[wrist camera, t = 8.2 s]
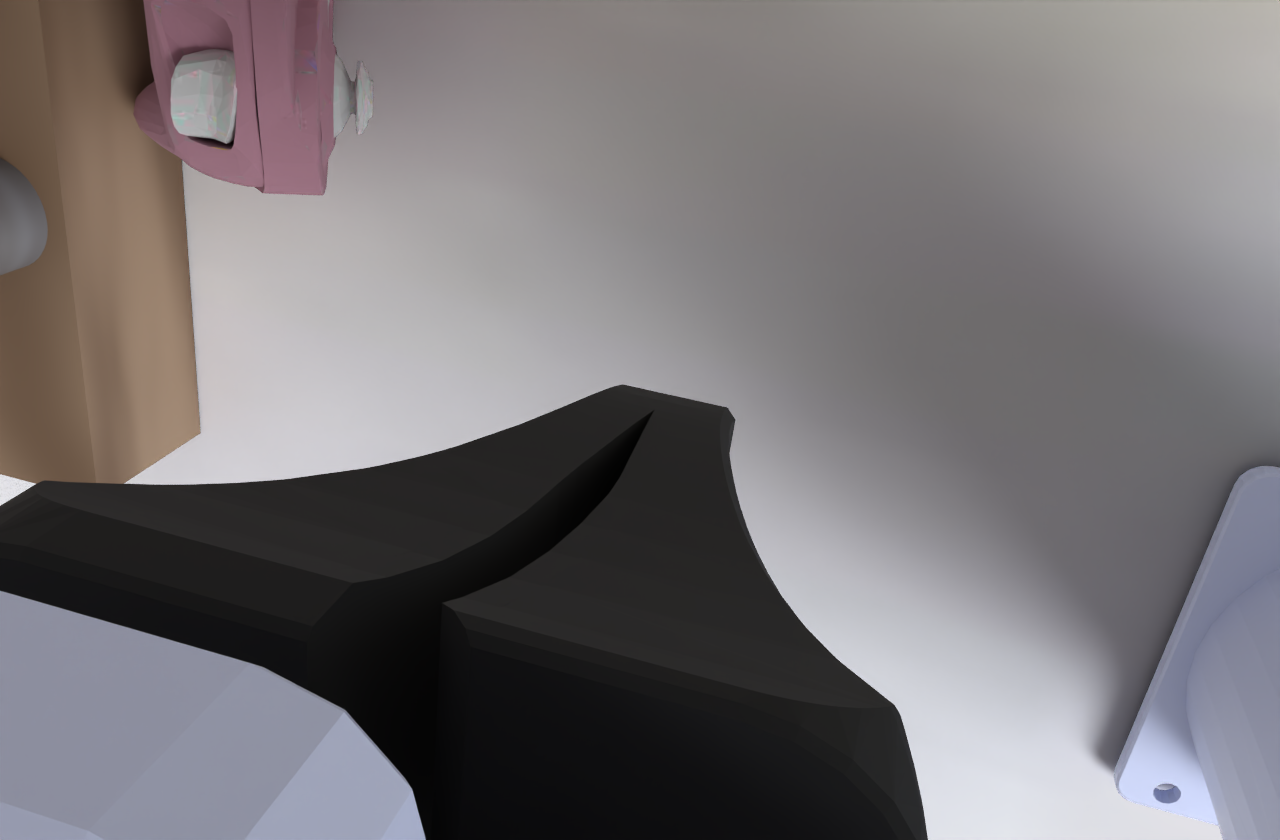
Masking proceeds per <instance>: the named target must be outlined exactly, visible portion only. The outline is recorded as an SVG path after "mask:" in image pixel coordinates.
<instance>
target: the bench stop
mask: <svg viewBox="0 0 1280 840" xmlns="http://www.w3.org/2000/svg"><path fill="white" fill-rule="evenodd" d="M153 82H154V76H153V72H152V67H151V60H150V51H149V43H148V35H147V26H146V18H145V10H144V2H143V0H0V474H2V475H6V476H10V477H13V478H17V479H21V480H25V481H28V482H32V483H36V484H37V483H39V482H41V481H44V480H47V481H62V482H84V483H115V484H124V483H125V482H127V481H128V480H130V479H131V478H133V477H134V476H136V475H137V474H139V473H140V472H142V471H143V470H145V469H146V468H148V467H150V466H151V465H153V464H154V463H156V462H157V461H159V460H160V459H162V458H163V457H165V456H166V455H168V454H169V453H171V452H172V451H174V450H175V449H177V448H178V447H180V446H181V445H183V444H185V443H186V442H188V441H189V440H191V439H192V438H194V437H195V436H197V435H198V434H200V420H199V406H198V391H197V377H196V362H195V348H194V334H193V319H192V305H191V290H190V276H189V261H188V247H187V233H186V218H185V204H184V189H183V175H182V161H181V159H180V158H179V157H178V156H176V155H175V154H173V153H171V152H170V151H168V150H166V149H165V148H163V147H162V146H160V145H159V144H158V143H156V142H155V141H154V140H153V139H151V138H150V137H149V136H148V135H146V134H145V133H144V132H143V131H142V130H141V129H140V128H139V126H138V123H137V121H136V119H135V117H134V115H133V112H134V106H135V100H136V98H137V96H138V95H139V94H140V93H141V92H142V91H143V90H144V89H145V88H146V87H147V86H148V85H150V84H151V83H153Z"/></svg>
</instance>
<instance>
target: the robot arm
mask: <svg viewBox="0 0 1280 840" xmlns="http://www.w3.org/2000/svg"><path fill="white" fill-rule="evenodd" d="M734 424H735V419H734V417H733V415H732V414H731V412H730V411H729V409H728V408H726V407H722V406H717V405H713V404H708V403H704V402H699V401H695V400H690V399H686V398H681V397H677V396H672V395H668V394H663V393H658V392H654V391H649V390H645V389H640V388H636V387H631V386H627V385H619V386H615V387H611V388H608V389H606V390H603V391H600V392H598V393H595V394H593V395H590V396H588V397H586V398H583V399H581V400H578V401H576V402H574V403H571V404H569V405H567V406H564V407H562V408H559V409H557V410H554V411H552V412H550V413H547V414H545V415H542V416H540V417H537V418H535V419H532V420H530V421H527V422H525V423H522V424H520V425H517V426H514V427H511V428H508V429H506V430H503V431H500V432H497V433H494V434H491V435H488V436H485V437H482V438H480V439H477V440H474V441H471V442H468V443H465V444H462V445H459V446H456V447H453V448H449V449H446V450H443V451H439V452H435V453H432V454H428V455H424V456H420V457H416V458H412V459H407V460H403V461H398V462H394V463H389V464H385V465H380V466H375V467H370V468H364V469H357V470H350V471H343V472H336V473H329V474H321V475H314V476H307V477H300V478H293V479H284V480H273V481H259V482H244V483H225V484H197V485H145V484H115V483H84V482H62V481H47V480H44V481H41V482H39V483H37V484H36V485H34V486H32V487H31V488H29V489H27V490H26V491H24V492H22V493H21V494H19V495H18V496H16V497H14V498H13V499H11V500H9V501H8V502H6V503H4V504H3V505H1V506H0V840H928V838H927V831H926V824H925V817H924V810H923V805H922V800H921V795H920V790H919V786H918V781H917V776H916V771H915V767H914V763H913V759H912V756H911V752H910V748H909V744H908V740H907V737H906V733H905V729H904V726H903V723H902V719H901V716H900V714H899V712H898V710H897V708H896V707H895V705H894V704H892V703H891V702H890V701H889V700H887V699H886V698H885V697H884V696H882V695H881V694H880V693H879V692H877V691H876V690H875V689H874V688H872V687H871V686H870V685H868V684H867V683H866V682H865V681H863V680H862V679H861V678H860V677H858V676H857V675H856V674H855V673H853V672H852V671H851V670H850V669H848V668H847V667H846V666H845V665H843V664H842V663H841V662H840V661H839V660H837V659H836V658H835V657H834V656H833V655H832V654H831V653H830V652H829V651H828V650H827V649H826V648H825V647H824V646H823V645H822V644H821V643H820V642H819V641H818V639H817V638H816V637H815V636H814V635H813V634H812V633H811V632H810V631H809V630H808V629H807V628H806V627H805V626H804V625H803V623H802V622H801V621H800V620H799V619H798V617H797V616H796V615H795V613H794V612H793V611H792V609H791V608H790V607H789V605H788V604H787V603H786V601H785V600H784V599H783V597H782V596H781V594H780V593H779V591H778V589H777V588H776V586H775V584H774V583H773V581H772V579H771V578H770V576H769V574H768V572H767V570H766V568H765V566H764V564H763V562H762V560H761V559H760V557H759V555H758V553H757V550H756V548H755V546H754V543H753V541H752V539H751V536H750V534H749V531H748V529H747V526H746V523H745V520H744V517H743V514H742V511H741V508H740V505H739V501H738V497H737V494H736V489H735V484H734V479H733V474H732V469H731V463H730V455H729V452H730V447H731V441H732V435H733V430H734ZM1114 780H1115V785H1116V788H1117V790H1118V793H1119V794H1120V795H1121V796H1122V797H1124V798H1125V799H1126V800H1129V801H1131V802H1133V803H1137V804H1140V805H1144V806H1148V807H1151V808H1155V809H1159V810H1163V811H1166V812H1170V813H1174V814H1177V815H1181V816H1185V817H1188V818H1192V819H1196V820H1199V821H1203V822H1207V823H1211V824H1214V825H1218V826H1219V828H1220V831H1221V834H1222V838H1223V840H1280V468H1279V467H1274V466H1259V467H1256V468H1252V469H1249V470H1248V471H1246V472H1245V473H1243V474H1242V475H1240V477H1239V478H1238V480H1237V481H1236V482H1235V484H1234V486H1233V489H1232V491H1231V493H1230V496H1229V498H1228V501H1227V503H1226V505H1225V508H1224V510H1223V512H1222V515H1221V517H1220V520H1219V522H1218V524H1217V527H1216V529H1215V531H1214V534H1213V536H1212V539H1211V541H1210V543H1209V546H1208V548H1207V550H1206V553H1205V555H1204V558H1203V560H1202V562H1201V565H1200V567H1199V570H1198V572H1197V574H1196V577H1195V579H1194V581H1193V584H1192V586H1191V589H1190V591H1189V593H1188V596H1187V598H1186V600H1185V603H1184V605H1183V608H1182V610H1181V612H1180V615H1179V617H1178V619H1177V622H1176V624H1175V627H1174V629H1173V631H1172V634H1171V636H1170V639H1169V641H1168V643H1167V646H1166V648H1165V650H1164V653H1163V655H1162V658H1161V660H1160V662H1159V665H1158V667H1157V669H1156V672H1155V674H1154V677H1153V679H1152V681H1151V684H1150V686H1149V688H1148V691H1147V693H1146V696H1145V698H1144V700H1143V703H1142V705H1141V707H1140V710H1139V712H1138V715H1137V717H1136V719H1135V722H1134V724H1133V727H1132V729H1131V731H1130V734H1129V736H1128V738H1127V741H1126V743H1125V746H1124V748H1123V750H1122V753H1121V755H1120V757H1119V760H1118V762H1117V765H1116V767H1115V771H1114ZM1164 783H1165V784H1172V785H1174V786H1175V787H1174V788H1172V789H1169V790H1159V789H1157V788H1156V787H1157V786H1158V785H1161V784H1164Z"/></svg>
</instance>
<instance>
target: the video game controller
mask: <svg viewBox="0 0 1280 840" xmlns="http://www.w3.org/2000/svg"><path fill="white" fill-rule="evenodd" d="M143 2H144V10H145V18H146V26H147V35H148V43H149V51H150V60H151V67H152V72H153V76H154V82H153V83H151V84H150V85H148V86H147V87H146V88H145V89H144V90H143V91H142V92H141V93H140V94H139V95H138V96H137V98H136V100H135V106H134V112H133V115H134V117H135V119H136V121H137V123H138V126H139V128H140V129H141V130H142V131H143V132H144V133H145V134H146V135H148V136H149V137H150V138H151V139H153V140H154V141H155V142H156V143H158V144H159V145H160V146H162V147H163V148H165V149H166V150H168V151H170V152H171V153H173V154H175V155H176V156H178V157H179V158H180V159H182V160H183V161H184V162H185V163H186V164H188V165H189V166H190V167H192V168H194V169H196V170H197V171H199V172H201V173H204V174H206V175H208V176H211V177H213V178H216V179H220V180H223V181H227V182H230V183H234V184H239V185H244V186H249V187H255V188H257V189H258V190H259V191H261V192H262V193H273V194H301V195H323V194H324V193H325V189H326V183H327V169H328V158H329V156H330V154H331V152H332V150H333V148H334V145H335V140H336V136H337V135H338V134H339V133H340V132H341V131H342V130H343V128H344V126H345V124H346V122H347V120H348V118H349V116H350V114H352V113H355V115H356V130H357V134H362V133H363V131H364V129H365V128H366V127H367V125H368V121H369V119H370V118H371V117H372V116H373V81H372V80H371V79H370V78H369V73H368V71H367V70H366V69H365V66H364V64H363V62H362V61H358V63H357V71H356V79H355V82H353V81H351V80H350V78H349V76H348V74H347V71H346V69H345V67H344V65H343V62H342V61H341V60H340V58H339V57H338V56H337V52H336V47H335V45H334V43H333V0H143Z"/></svg>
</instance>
